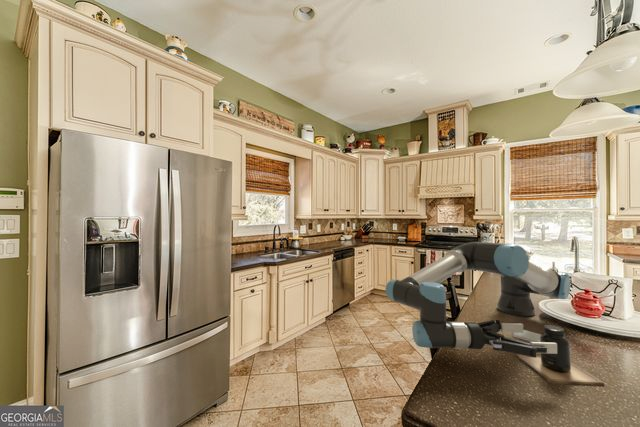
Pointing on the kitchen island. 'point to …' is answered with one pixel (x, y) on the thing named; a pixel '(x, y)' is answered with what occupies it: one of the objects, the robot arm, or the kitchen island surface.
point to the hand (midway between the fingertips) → (538, 337)
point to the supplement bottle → (562, 358)
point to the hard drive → (528, 336)
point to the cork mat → (551, 376)
